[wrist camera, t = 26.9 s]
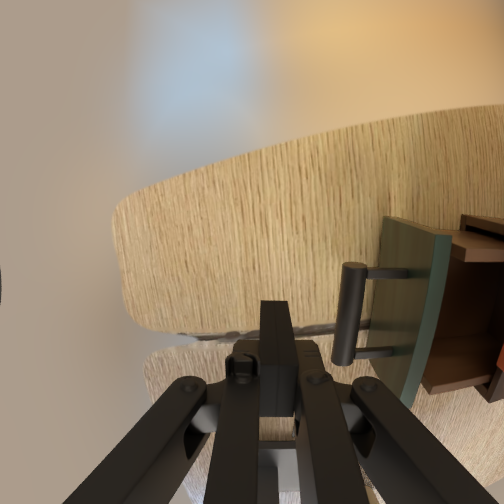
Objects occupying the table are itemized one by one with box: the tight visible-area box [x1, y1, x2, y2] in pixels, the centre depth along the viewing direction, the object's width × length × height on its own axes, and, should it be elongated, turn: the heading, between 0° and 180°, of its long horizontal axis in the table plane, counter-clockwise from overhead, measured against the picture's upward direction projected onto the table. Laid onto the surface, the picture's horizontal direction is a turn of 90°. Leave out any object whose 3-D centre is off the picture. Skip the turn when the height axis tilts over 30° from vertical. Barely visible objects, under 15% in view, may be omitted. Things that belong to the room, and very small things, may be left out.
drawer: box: [331, 216, 504, 409], centre depth 19 cm, size 18×11×8 cm, turn 89°
